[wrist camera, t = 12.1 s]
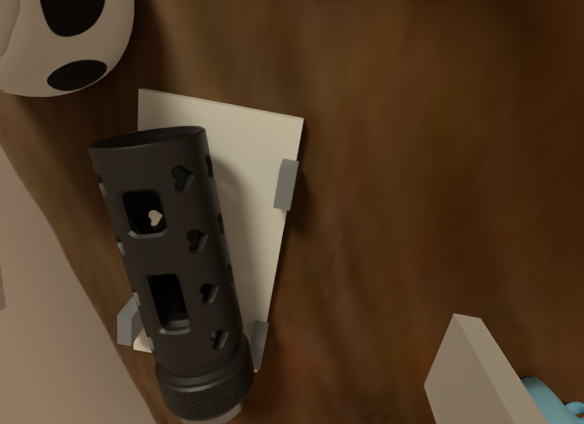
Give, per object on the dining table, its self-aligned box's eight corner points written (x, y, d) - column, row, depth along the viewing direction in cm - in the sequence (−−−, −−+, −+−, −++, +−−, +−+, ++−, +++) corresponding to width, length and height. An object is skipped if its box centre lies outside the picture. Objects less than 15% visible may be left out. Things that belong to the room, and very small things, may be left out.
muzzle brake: (222, 119, 34) (188, 141, 25) (263, 354, 44) (250, 435, 35) (124, 130, 35) (54, 155, 25) (186, 359, 45) (153, 438, 36)
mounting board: (142, 87, 36) (116, 90, 32) (307, 118, 36) (305, 126, 32) (136, 340, 48) (117, 369, 44) (261, 364, 48) (255, 395, 44)
